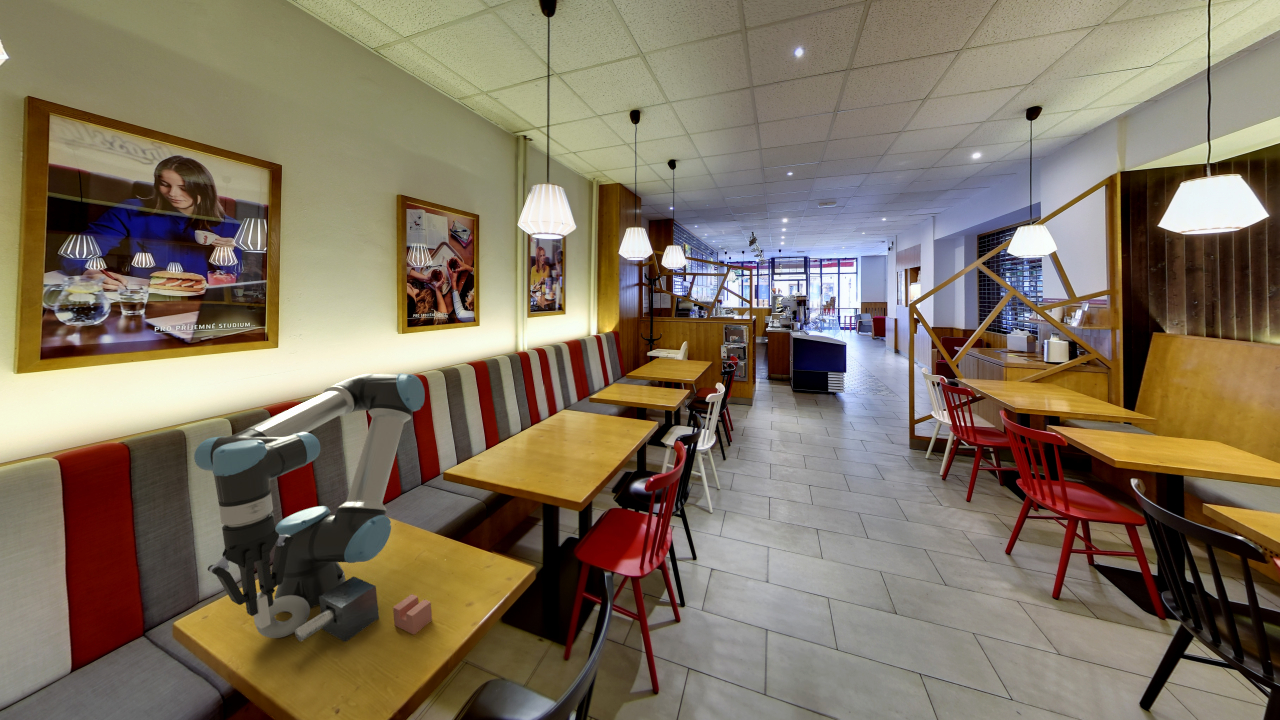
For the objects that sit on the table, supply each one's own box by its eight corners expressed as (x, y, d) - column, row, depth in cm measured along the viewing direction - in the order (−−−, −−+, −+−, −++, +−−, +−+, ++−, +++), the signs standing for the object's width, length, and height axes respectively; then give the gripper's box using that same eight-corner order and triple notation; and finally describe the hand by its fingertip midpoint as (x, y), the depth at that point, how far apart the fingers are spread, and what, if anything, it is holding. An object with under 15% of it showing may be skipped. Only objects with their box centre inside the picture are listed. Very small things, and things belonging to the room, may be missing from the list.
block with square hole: (322, 629, 98) (318, 596, 97) (356, 607, 105) (353, 576, 104) (345, 642, 95) (341, 607, 93) (379, 618, 102) (375, 585, 101)
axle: (296, 640, 91) (293, 628, 91) (360, 599, 103) (357, 588, 103) (303, 642, 89) (300, 629, 89) (367, 600, 102) (364, 588, 102)
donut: (256, 648, 93) (250, 609, 92) (261, 637, 96) (255, 600, 95) (310, 632, 98) (305, 595, 96) (313, 622, 101) (309, 586, 99)
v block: (394, 625, 99) (392, 607, 99) (413, 611, 104) (411, 594, 103) (413, 634, 97) (412, 616, 96) (432, 619, 101) (430, 601, 100)
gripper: (212, 539, 73) (230, 654, 76) (297, 507, 85) (309, 608, 88) (194, 530, 76) (211, 642, 79) (277, 500, 88) (290, 598, 91)
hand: (262, 624), depth 83 cm, fingers closed
